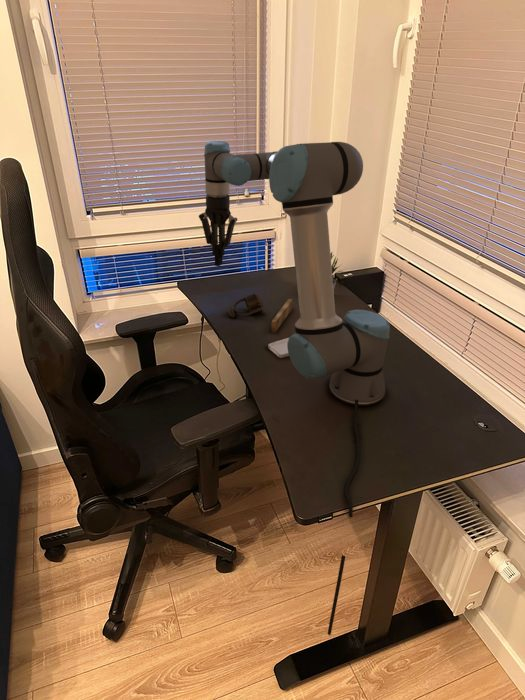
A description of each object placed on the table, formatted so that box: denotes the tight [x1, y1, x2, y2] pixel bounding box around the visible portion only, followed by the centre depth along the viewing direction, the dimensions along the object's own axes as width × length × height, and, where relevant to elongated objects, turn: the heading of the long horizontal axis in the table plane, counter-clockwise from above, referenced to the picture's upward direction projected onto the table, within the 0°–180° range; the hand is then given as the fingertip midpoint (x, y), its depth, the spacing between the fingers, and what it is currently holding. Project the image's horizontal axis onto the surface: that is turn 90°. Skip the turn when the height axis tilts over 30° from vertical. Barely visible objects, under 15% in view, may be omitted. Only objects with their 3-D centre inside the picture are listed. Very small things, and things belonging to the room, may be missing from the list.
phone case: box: [267, 337, 289, 359], centre depth 157 cm, size 7×1×15 cm
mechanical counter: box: [226, 292, 265, 318], centre depth 174 cm, size 7×13×10 cm
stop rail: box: [270, 298, 293, 334], centre depth 171 cm, size 18×1×4 cm, turn 159°
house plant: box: [330, 251, 344, 291], centre depth 186 cm, size 14×14×16 cm
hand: (218, 264), depth 170 cm, fingers closed
